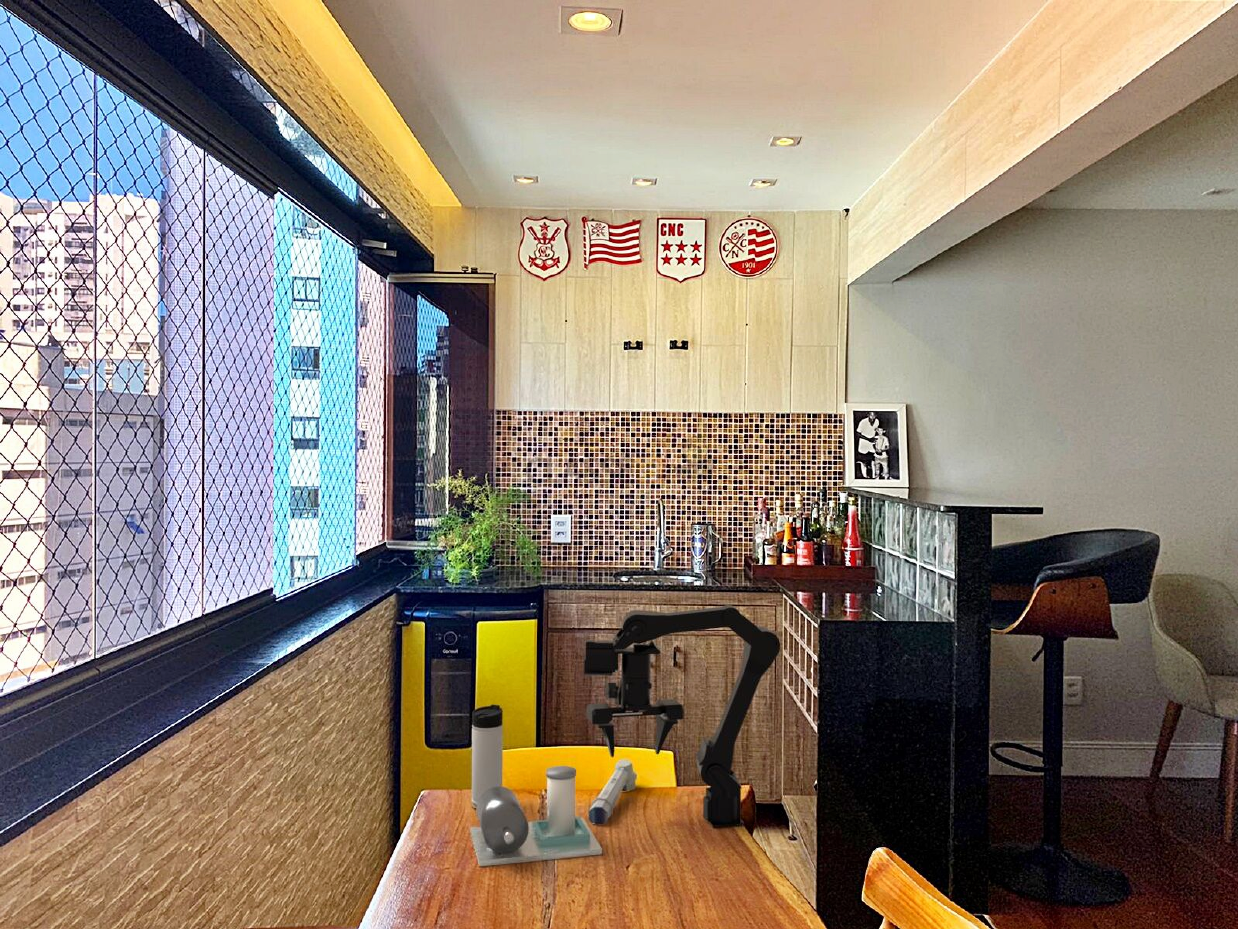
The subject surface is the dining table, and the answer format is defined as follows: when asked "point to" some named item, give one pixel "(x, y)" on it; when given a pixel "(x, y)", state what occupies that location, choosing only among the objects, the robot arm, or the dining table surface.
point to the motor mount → (522, 834)
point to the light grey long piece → (612, 792)
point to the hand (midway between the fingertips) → (634, 755)
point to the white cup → (560, 801)
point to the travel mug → (486, 750)
